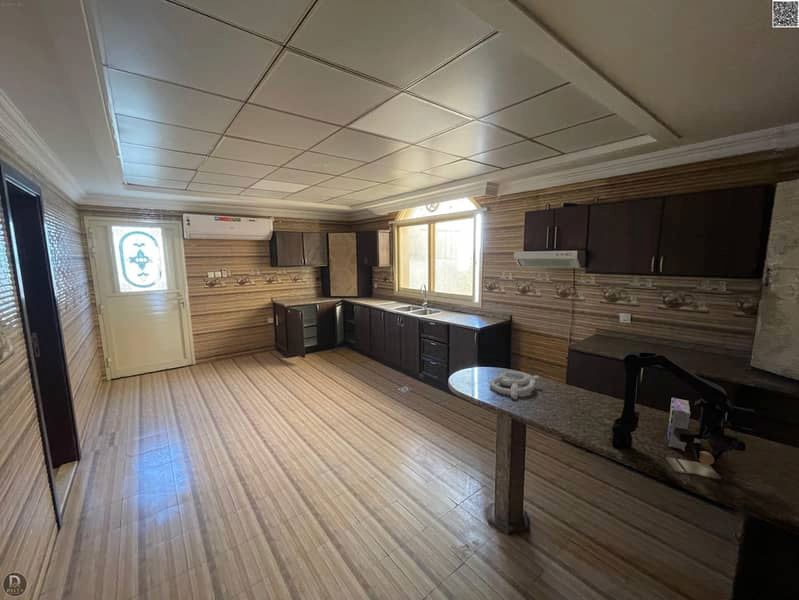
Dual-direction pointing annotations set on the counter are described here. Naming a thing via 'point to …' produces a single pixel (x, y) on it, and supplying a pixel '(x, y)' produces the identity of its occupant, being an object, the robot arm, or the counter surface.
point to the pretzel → (514, 383)
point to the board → (692, 468)
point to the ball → (706, 458)
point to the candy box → (678, 421)
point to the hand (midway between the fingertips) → (705, 460)
